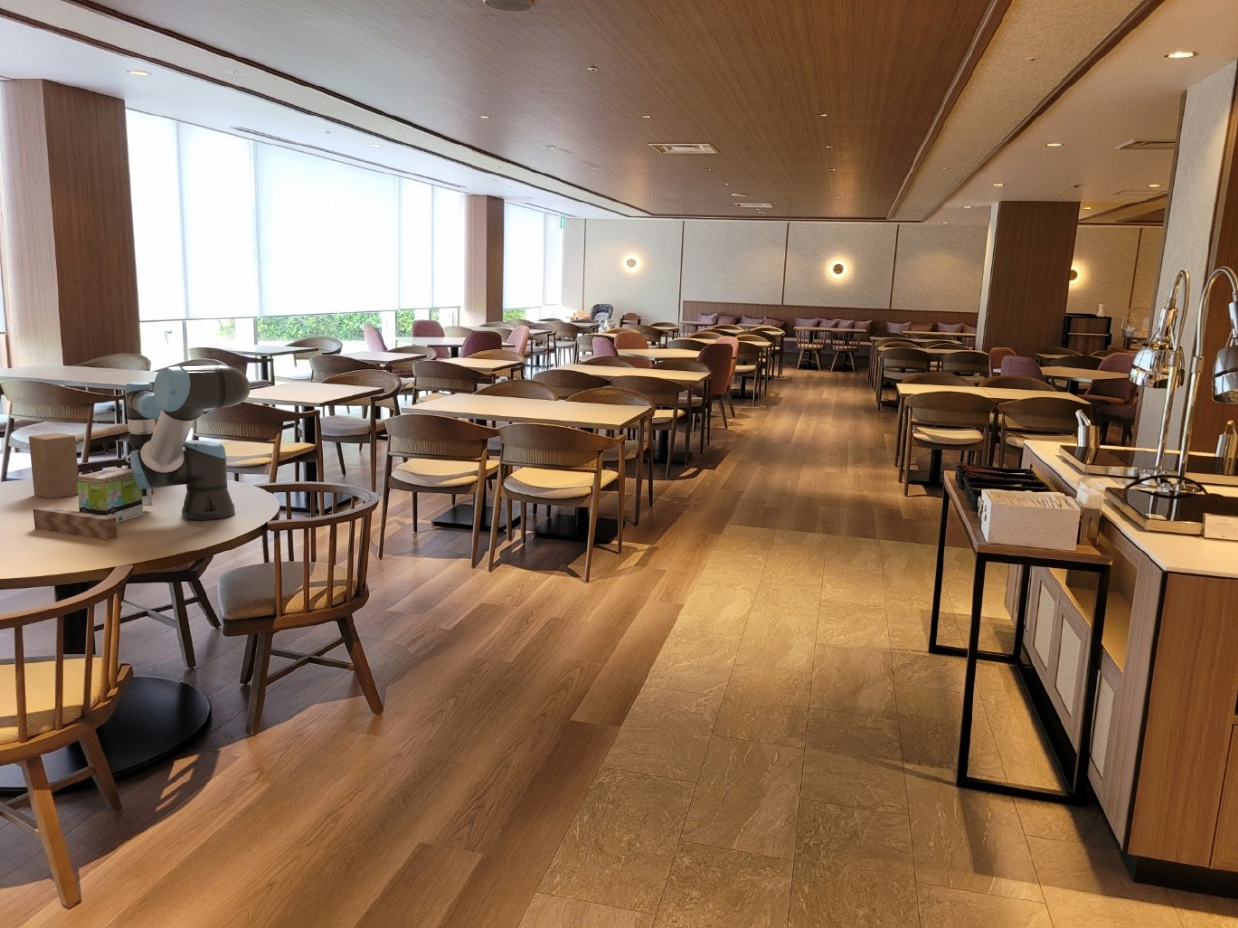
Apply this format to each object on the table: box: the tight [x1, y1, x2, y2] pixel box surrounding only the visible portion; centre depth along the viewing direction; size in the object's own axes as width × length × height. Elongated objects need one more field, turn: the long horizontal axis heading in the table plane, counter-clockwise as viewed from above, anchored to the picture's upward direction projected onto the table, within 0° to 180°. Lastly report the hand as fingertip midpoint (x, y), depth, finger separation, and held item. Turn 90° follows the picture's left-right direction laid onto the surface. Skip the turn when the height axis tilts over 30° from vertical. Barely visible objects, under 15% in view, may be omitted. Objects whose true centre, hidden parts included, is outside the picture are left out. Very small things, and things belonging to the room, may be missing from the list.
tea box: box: [77, 467, 144, 524], centre depth 271 cm, size 15×10×15 cm
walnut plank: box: [32, 506, 118, 541], centre depth 257 cm, size 28×3×6 cm, turn 70°
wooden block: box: [28, 432, 80, 500], centre depth 300 cm, size 10×10×20 cm
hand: (147, 505), depth 285 cm, fingers closed
